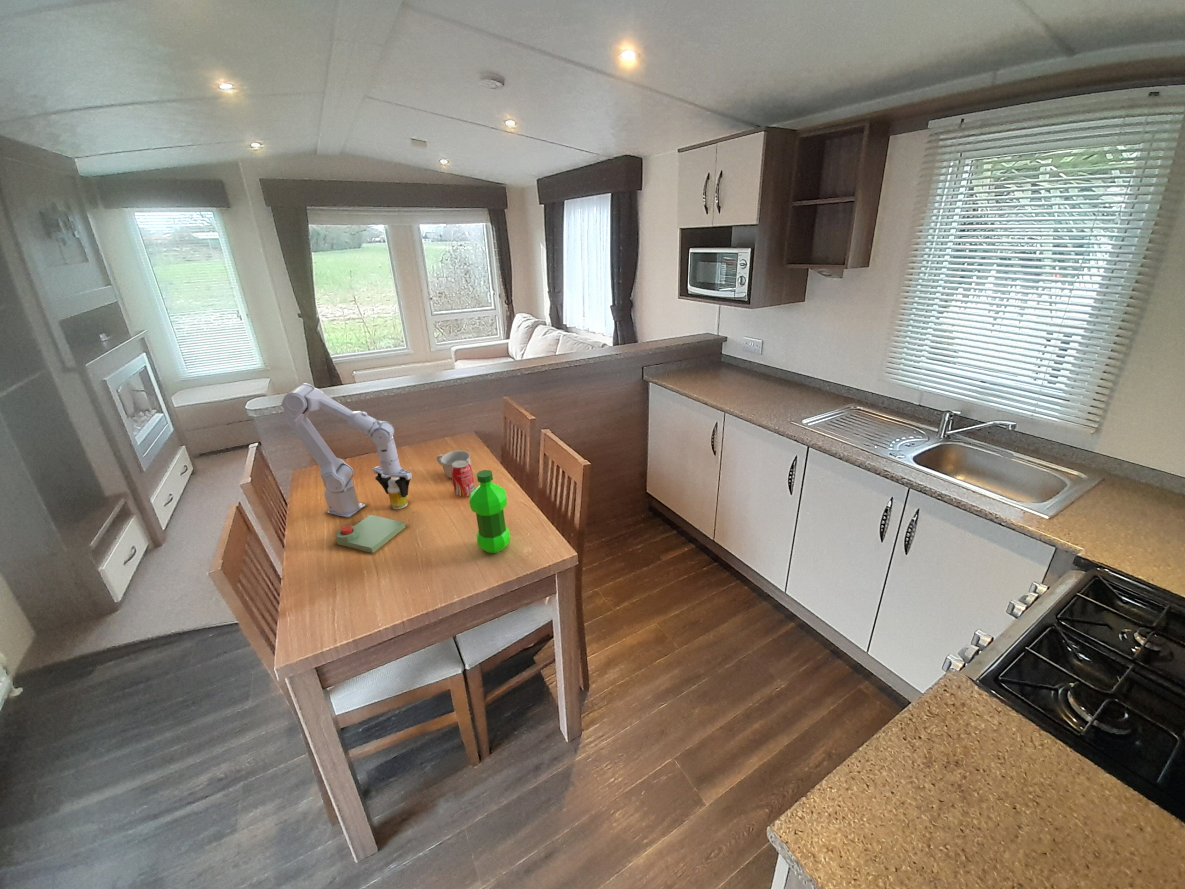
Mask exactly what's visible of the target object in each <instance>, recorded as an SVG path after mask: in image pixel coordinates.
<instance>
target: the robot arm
mask: <svg viewBox="0 0 1185 889" xmlns="http://www.w3.org/2000/svg"><path fill="white" fill-rule="evenodd" d="M280 405H281V407H282V409H283V412H284V419H285V422H286V423H287V425H288V426H289V427H290V429H291V430H292V432H294V434H295V435H296V437H297V438H298V439H299V441H300V442H301V443H302V445H303V446H304V447H305V449H306V450H307V452H308V453H309V454H310V455H311V457H312V459H314V461H315V462H316V463H317V465H318V466H319V468H320V478H321V480H322V481H323V485H324V488H325V491H324V498H325V501H326V505H327V508H328V510H327V511H326V512H327V514H331V515H334V516H339V517H343V518H350V517H351V516H353V515H354V514H356V513H357V512H359V511H360V510H362V509H363V508H365V507H366V506H367V505H366V504H365V503H361V502H359V498H358V495H357V490H356V487H355V484H354V481H353V479H352V478H353V476H354V475H355V474H354V473H355V472H354V469H353V467H352V466H351V465H349V464H348V463H346V462H345V461H344V459H342V458H340V457H337V456H336V455H335V453H334V452H333V451H332V450H331V448H330V446H328V444H327V443H326V441H325V440H324V438H323V437H322V435H321V434H320V433H319V431H318V430H317V429H316V427H315V426H314V425H313V423H312V422H311V420H310V419H309V418H308V416H309V413H310V412H313V411H320V410H322V411H324V412H326V413H329V414H331V415H333V416H335V417H338V418H340V419H341V420H344V421H346V422H347V423H348V426H349V427H350V428H352V429H354V430H355V431H358V432H359V433H362V434H363V435H365V436H368V437H369V438H370V440H371V441H372V443H373V444H375V448H376V452H377V455H378V459H379V464H380V465H379V466H378V465H377V466H375V467H373V468H372V473H373V474H374V475H377V476H375V477H374V479H375V481H377V482H378V483H379V484H380V485H381V487H382V488H383V490H384V492H385V493H386V495H389V494H388V487H389V485H388V481H389V480H390V479H392V478H399V479H398V480H396V481H395V483H396V484H397V486H398V487H399V489H400V493H401V496H402V497H405V496H408V495H409V487H410V483H411V480H412V479H413V475H412V472H411V471H408V470H406V469H404V468H402V467H401V464H400V460H399V454H398V450H397V446H396V442H395V438H394V434H395V428H394V425H393V424H391V423H390V422H389V421H386V420H383V421H382V420H380V419H379V420H378V419H376V418H374V417H372V416H370V415H368V412H366V411H361V410H357V411H353V410H351V409H350V408H348V407H346V406H345V405H343V404H341V403H340V402H338V401H336V400H335V399H333V398H331V397H330V396H329V395H327V394H325V393H324V391H322V390H321V389H319V388H317V387H315V386H313V385H312V384H310V383H300V384H299V385H297V387H296V388H294V389H293V390H291V391H289V392H287V393H286V394H285V395H284V396H283V398H282V401H281V403H280Z"/></svg>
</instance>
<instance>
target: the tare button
mask: <svg viewBox="0 0 1185 889" xmlns="http://www.w3.org/2000/svg"><path fill="white" fill-rule="evenodd" d="M351 526H352V525H345V526H342V527H341V528H340V529H341V533H342V535H348V534H351V533H352V532H353V530H352V527H351Z"/></svg>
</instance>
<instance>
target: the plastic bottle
mask: <svg viewBox="0 0 1185 889" xmlns="http://www.w3.org/2000/svg"><path fill="white" fill-rule="evenodd" d="M476 479H477V483H479V485H478V486H476V487H474V490H473V491H472V492H471V493H470V495H469V508H470V510H471V512H473V513H475V515H476V520H477V522H476V523H477V529H478V530H477V533H476V543H477V546H478V547H479V548H480V549H481V550H483V551H485V552H486V553H489V554H498V553H499V552H502V551H503V550H504V549H505V548H506V547H507V546H508V545H509V543H510V541H511V535H510V534H511V533H510V529H509V527H508V526H507V525H506V520H505V519H506V518H505V512H504V509H505V508H506V507H507V504H508V501H507V493H506V490H505V489H504V488H503V487H501V485H498V484H496V483H493V482H492V481H493V480H494V476H493V471H492V470H490V469H482V470H480V471H478V472H477V473H476Z"/></svg>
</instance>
